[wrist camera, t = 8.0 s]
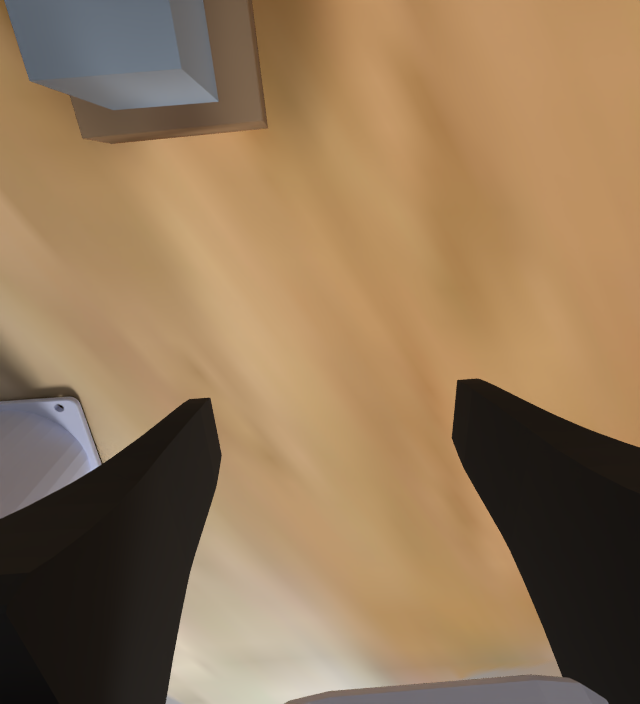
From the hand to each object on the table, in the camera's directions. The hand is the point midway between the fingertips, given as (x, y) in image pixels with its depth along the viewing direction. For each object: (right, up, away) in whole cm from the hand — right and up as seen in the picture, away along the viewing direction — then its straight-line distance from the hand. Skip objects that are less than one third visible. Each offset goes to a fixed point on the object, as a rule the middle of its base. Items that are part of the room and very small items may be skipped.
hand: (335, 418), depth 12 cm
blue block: (-6, +13, +3) cm, 15 cm away
